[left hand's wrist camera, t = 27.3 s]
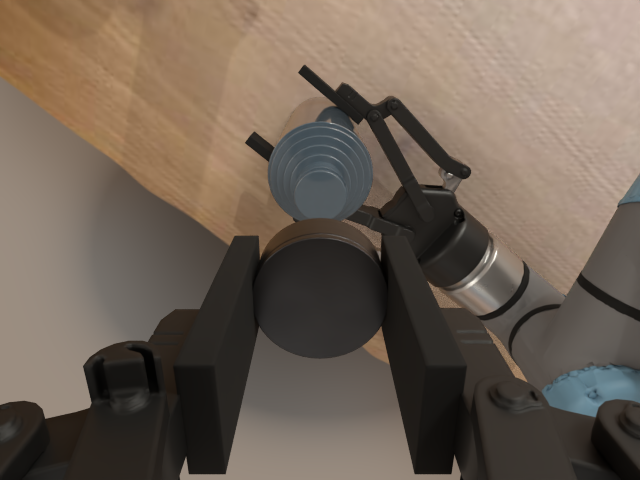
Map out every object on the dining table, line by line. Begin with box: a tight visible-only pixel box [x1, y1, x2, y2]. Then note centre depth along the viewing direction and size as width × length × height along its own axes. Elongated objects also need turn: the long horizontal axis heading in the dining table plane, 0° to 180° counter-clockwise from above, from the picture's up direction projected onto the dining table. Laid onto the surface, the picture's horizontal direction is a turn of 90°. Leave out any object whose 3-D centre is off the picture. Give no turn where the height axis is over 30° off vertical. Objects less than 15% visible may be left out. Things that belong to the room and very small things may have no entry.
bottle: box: [268, 97, 373, 221], centre depth 35 cm, size 7×7×24 cm
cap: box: [252, 218, 388, 358], centre depth 14 cm, size 4×4×2 cm
